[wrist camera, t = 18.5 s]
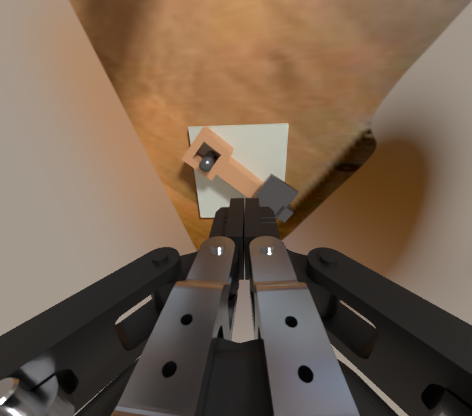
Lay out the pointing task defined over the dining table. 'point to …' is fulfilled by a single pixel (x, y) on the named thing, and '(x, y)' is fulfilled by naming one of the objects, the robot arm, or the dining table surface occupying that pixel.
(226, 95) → the dining table surface
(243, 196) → the board
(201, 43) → the dining table surface
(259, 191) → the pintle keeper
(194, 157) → the link
